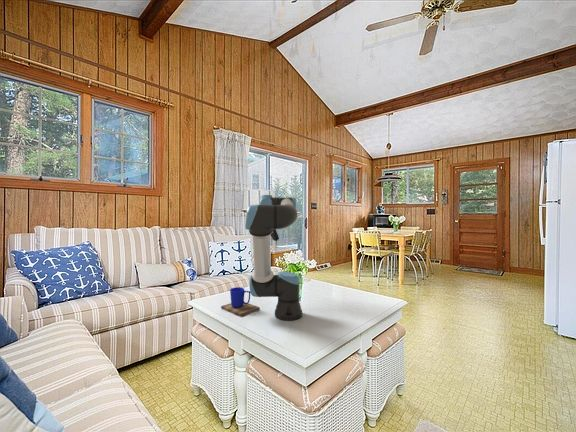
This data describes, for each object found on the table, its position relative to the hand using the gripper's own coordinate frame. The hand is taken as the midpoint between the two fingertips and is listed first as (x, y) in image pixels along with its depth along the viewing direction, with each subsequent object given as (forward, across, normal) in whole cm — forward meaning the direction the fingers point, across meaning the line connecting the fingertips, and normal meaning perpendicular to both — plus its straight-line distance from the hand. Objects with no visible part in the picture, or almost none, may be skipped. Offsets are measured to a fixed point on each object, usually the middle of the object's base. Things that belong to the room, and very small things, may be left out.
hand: (266, 251), depth 181 cm
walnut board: (+31, +24, +3) cm, 39 cm away
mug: (+29, +24, +3) cm, 38 cm away
